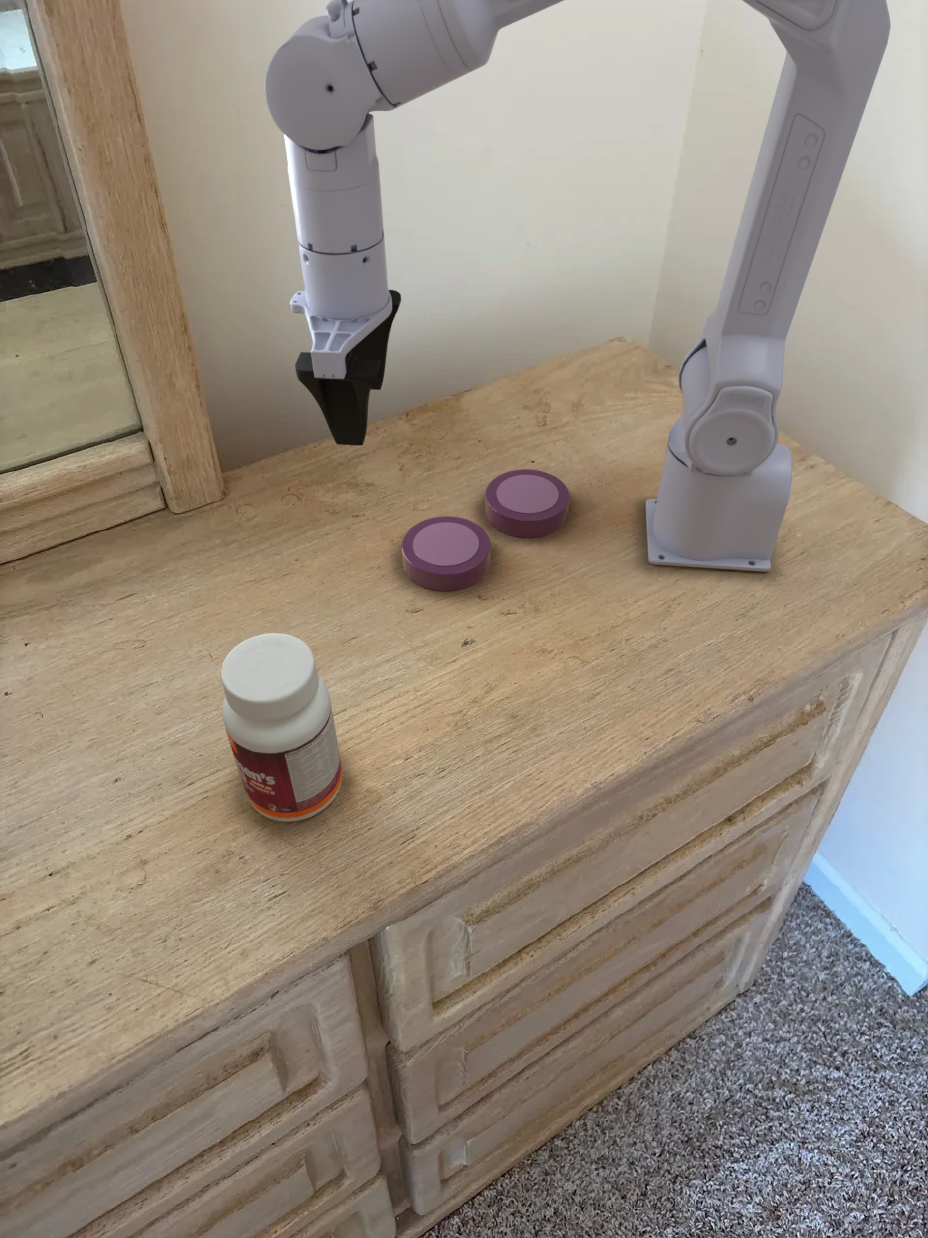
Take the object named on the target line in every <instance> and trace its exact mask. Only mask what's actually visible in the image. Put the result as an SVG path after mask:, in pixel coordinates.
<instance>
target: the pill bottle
mask: <svg viewBox="0 0 928 1238" xmlns="http://www.w3.org/2000/svg"><path fill="white" fill-rule="evenodd" d="M220 679H221V684H222V687H223V692H224V699H223V702H222V708H221V711H222V712H221V715H222V721H223V725H224V728H225V729H224V730H225V732H226V735H227V738H228V743H229V745H230V748H231V751H232V755H233V758H234V761H235V765H236V768H237V772H238V774H239V778H240V780H241V783H242V787H243V790H244V792H245V795H246V798H247V800H248V802H249V804H250V805H251V806H252V807H253V809H254V810H256V812H258V813H259V814H260V815H262V816H264V817H265V818H267V819H270V820H273V821H276V822H290V823H291V822H298V821H303V820H306V819H309V818H312V817H314V816H315V815H317V814H319V813H321V812H322V811H323V810H325V809H326V808H327V807H328V806H329V805H330V804H331V803H332V802H333V801H334V799H335V798H336V797H337V795H338V793H339V791H340V789H341V785H342V781H343V768H342V759H341V754H340V749H339V748H340V747H339V742H338V736H337V731H336V725H335V720H334V719H335V718H334V714H333V713H334V712H333V707H332V702H331V697H330V693H329V690H328V687H327V685H326V683H325V682H324V680H323V679H322V677H321V676H320V675H319V672H318V669H317V665H316V660H315V657H314V653H313V652H312V649H311V648H310V647H309V645H308V644H307V643H305V642H304V641H303V640H302V639H300V638H298V637H296V636H293V635H291V634H286V633H278V632H271V633H263V634H259V635H255V636H252V637H249V638H248V639H245V640H243V641H241V642H240V643H238V644H237V645H235V646H234V648H232V649H231V650H230V651H229V652H228V654H227V655H226V656H225V658H224V660H223V662H222V664H221V669H220Z"/></svg>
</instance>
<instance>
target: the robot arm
mask: <svg viewBox="0 0 928 1238" xmlns="http://www.w3.org/2000/svg"><path fill="white" fill-rule="evenodd" d="M564 1H565V0H351V1H348V0H331V1H329V2H328V4H326V7H325V10H326V11H325V12H326V14H327V15H320V16H316V17H313V18H310V19H309V20H307V21H305V22H304V23H302V24H301V25H300V26H299V27H298V28H297V29H296V30H295V31H294V32H293V33H292V34H291V36H289V38H288V39H287V40H286V41H284V43H283V44H282V45H281V46H280V47H278V49H277V50H276V51H275V53H273V54H274V55H273V56H272V58H271V59H270V62H269V64H268V66H267V69H266V71H265V76H264V84H263V85H264V86H263V87H264V90H263V91H264V98H265V103H266V107H267V109H268V112H269V114H270V117H271V119H272V120H273V122H274V124H275V125H276V126H277V128H278V129H279V131H281V132H282V134H283V138H284V146H285V153H286V158H287V174H288V182H289V188H290V197H291V203H292V204H291V205H292V209H293V215H294V216H293V217H294V223H295V224H294V225H295V232H296V238H297V244H298V250H299V251H298V252H299V258H300V259H299V260H300V265H301V274H302V280H303V287H304V291H303V290H301V291H300V290H299V291H296V292H295V293H294V294H293V295H292V297H291V299H290V301H289V306H290V312H292V313H293V314H301V315H304V317H305V318H306V322H307V326H308V330H309V333H310V337H311V340H312V347H311V350H310V352H309V351H300V353H299V354H298V357H297V359H296V361H295V363H294V369H295V374H296V378H297V380H298V382H300V383H301V385H303V386H304V388H306V389H307V391H309V393H310V394H311V396H312V397H313V398H314V400H315V401H316V403H317V404H318V407H319V408H320V411H321V413H322V415H323V417H324V419H325V422H326V424H327V426H328V429H329V431H330V434H331V436H332V438H333V440H334V442H335V444H336V445H340V446H341V445H342V446H363V445H364V443H365V439H366V435H367V430H368V421H369V420H368V419H369V418H368V417H369V416H368V415H369V401H370V395H371V391H372V390H373V391H381V390H382V386H383V383H384V378H385V372H386V365H387V364H386V363H387V355H388V347H389V340H390V334H391V330H392V325H393V322H394V320H395V317H396V315H397V313H398V312H399V308H400V305H401V303H402V295H401V293H400V292H399V291H398V290H395V289H389V283H388V282H389V281H388V270H387V256H386V255H387V254H386V242H385V229H384V228H385V227H384V217H383V216H384V215H383V214H384V213H383V203H382V201H383V200H382V188H381V173H380V162H379V158H378V155H377V146H376V133H375V122H374V121H375V119H374V115H373V114H372V112H391V111H394V110H395V109H397V108H400V107H401V106H404V105H406V104H408V103H410V102H412V101H414V100H416V99H418V98H420V97H422V96H425V95H427V94H428V93H431V92H433V91H434V90H437V89H439V88H441V87H443V86H445V85H447V84H449V83H451V82H453V81H455V80H458V79H460V78H462V77H463V76H465V75H467V74H469V73H472V72H475V71H476V70H478V69H480V68H482V67H485V65H487V63H488V62H489V60H490V58H491V55H492V52H493V49H494V46H495V44H496V40H497V37H498V34H499V32H500V30H501V29H503V28H506V27H508V26H511V25H512V24H514V23H516V22H519V21H521V20H524V19H526V18H528V17H530V16H533V15H535V14H536V13H539V12H542V11H544V10H546V9H548V8H550V7H553V6H555V5H557V4H559V3H563V2H564ZM741 1H742V2H744V3H745V4H747V5H748V6H749V7H750V8H752V9H753V10H755V11H756V12H758V13H760V14H761V15H762V16H764V17H765V18H767V20H768V21H769V24H770V26H771V27H772V29H773V31H774V32H775V34H776V36H777V38H778V40H780V42H781V44H782V45H783V47H784V48H785V52H786V53H785V58H784V61H783V65H782V68H781V72H780V76H779V78H778V79H779V80H778V83H777V87H776V90H775V94H774V97H773V101H772V104H771V109H770V112H769V116H768V119H767V123H766V126H765V130H764V134H763V138H762V141H761V144H760V148H759V151H758V154H757V155H758V156H757V158H756V162H755V165H754V170H753V173H752V177H751V181H750V184H749V188H748V191H747V194H746V198H745V202H744V206H743V209H742V212H741V217H740V220H739V224H738V227H737V231H736V235H735V239H734V241H733V245H732V248H731V249H732V250H731V252H730V257H729V260H728V263H727V267H726V271H725V275H724V278H723V282H722V285H721V289H720V293H719V296H718V300H717V303H716V307H715V309H714V310H713V311H712V313H710V314H709V315H708V317H707V318H706V319H705V322H704V326H703V329H702V332H701V334H700V336H699V338H698V340H697V342H696V343H695V345H694V346H693V347H692V348H691V349H690V350H689V351H688V353H686V354H685V356H684V357H683V359H682V361H681V363H680V366H679V369H678V376H677V377H678V379H677V381H678V388H679V389H680V392H681V398H682V408H683V409H682V410H683V411H682V412H681V415H680V416H679V417H678V419H676V421H675V422H674V424H673V425H672V427H671V428H670V429H669V433H668V438H667V444H666V449H665V455H664V461H663V466H662V471H661V476H660V482H659V487H658V493H657V498H649V499H646V501H645V505H644V506H645V521H646V523H645V524H646V542H647V544H646V545H647V560H648V562H649V563H650V564H652V565H657V566H658V565H659V566H674V567H689V568H703V569H718V570H735V571H746V572H747V571H749V572H762V573H763V572H764V573H765V572H769V571H770V570H771V568H772V563H771V557H772V554H773V552H774V548H775V546H776V542H777V539H778V536H779V533H780V530H781V527H782V523H783V520H784V517H785V513H786V510H787V508H788V503H789V499H790V495H791V490H792V483H793V482H792V480H793V458H792V453H791V449H790V447H789V445H786V444H783V443H778V441H779V435H780V427H779V422H778V419H777V404H778V401H779V398H780V395H781V392H782V387H783V377H784V376H783V375H784V362H785V348H786V341H787V340H786V339H787V336H788V333H789V331H790V327H791V324H792V321H793V319H794V316H795V314H796V310H797V307H798V304H799V301H800V299H801V295H802V293H803V289H804V287H805V284H806V281H807V278H808V275H809V272H810V269H811V268H812V264H813V261H814V259H815V255H816V252H817V250H818V246H819V244H820V241H821V238H822V234H823V231H824V229H825V226H826V223H827V220H828V217H829V216H830V215H829V214H830V212H831V208H832V206H833V204H834V203H833V202H834V200H835V197H836V194H837V191H838V188H839V185H840V183H841V180H842V178H843V174H844V171H845V168H846V166H847V162H848V159H849V156H850V153H851V150H852V148H853V145H854V142H855V140H856V136H857V133H858V130H859V127H860V124H861V122H862V118H863V115H864V114H865V113H864V112H865V110H866V107H867V104H868V101H869V99H870V95H871V92H872V89H873V87H874V84H875V80H876V78H877V76H878V73H879V69H880V67H881V63H882V61H883V58H884V55H885V52H886V49H887V46H888V43H889V38H890V33H891V27H892V25H891V17H890V16H891V15H890V13H889V12H890V11H889V7H888V2H887V0H741Z"/></svg>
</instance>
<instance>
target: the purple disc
mask: <svg viewBox="0 0 928 1238" xmlns="http://www.w3.org/2000/svg"><path fill="white" fill-rule="evenodd" d="M401 557H402V558H401V559H402V567H403V571H404V573H405V574H406V575H407V577H408V578H409V579H410V580H411V581H413V583H415V584H417V585H418V586H421V587H423V588H425V589H428V590H434V591H439V592H454V591H459V590H462V589H466V588H469V587H471V586H473V585H475V584H477V583H478V582H479V581H481V580H482V579H483V578H484V577H485V576H486V574H487V572H488V571H489V569H490V565H491V540H490V537H489V535H488V533H487V532H486V530H484V529H483V527H482V526H481V525H479V524H477V523H476V522H474V521H472V520H469V519H467V518H463V517H459V516H451V515H450V516H448V515H445V516H435V517H431V518H427V519H424V520H421V521H420V522H418V523H416V524H415V525H413V526H412V527H410V529H408V530H407V532H406V533H405V535H404V536H403V538H402V541H401Z"/></svg>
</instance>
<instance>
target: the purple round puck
mask: <svg viewBox="0 0 928 1238" xmlns="http://www.w3.org/2000/svg"><path fill="white" fill-rule="evenodd" d="M570 497H571V496H570V491H569V489H568V487H567V485H566V484H565V483H564V482H563V480H561V479H560V478H559V477H557V476H555V475H553V474H551V473H549V472H547V471H542V470H537V469H531V468H529V469H526V468H524V469H515V470H510V471H506V472H504V473H502V474H499V475H498V476H496V477H495V478H493V479H492V480H491V481H490V482H489V484H488V485H487V487H486V490H485V510H484V511H485V516H486V519H487V520H488V522H489V523H490V524H491V525H492V526H493V527H494V528H495V529H496V530H498V531H500V532H502V533H503V534H507V535H509V536H512V537H517V538H539V537H543V536H546V535H550V534H552V533H554V532H556V531H558V530H559V529H560V528H561V527H562V526H563V525H564V524H565V523H566V522H567V519H568V515H569V506H570Z"/></svg>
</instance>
